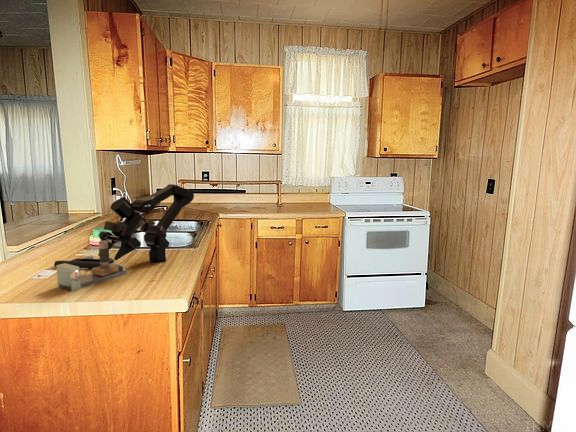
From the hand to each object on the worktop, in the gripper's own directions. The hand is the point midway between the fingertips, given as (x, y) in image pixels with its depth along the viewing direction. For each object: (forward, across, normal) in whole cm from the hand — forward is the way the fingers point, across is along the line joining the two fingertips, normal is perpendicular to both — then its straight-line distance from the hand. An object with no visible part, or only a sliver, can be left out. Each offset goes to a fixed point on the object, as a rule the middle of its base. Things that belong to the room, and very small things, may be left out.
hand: (107, 258), depth 136 cm
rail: (+9, 0, +1) cm, 9 cm away
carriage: (+5, 0, +3) cm, 6 cm away
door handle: (+2, -21, +10) cm, 23 cm away
